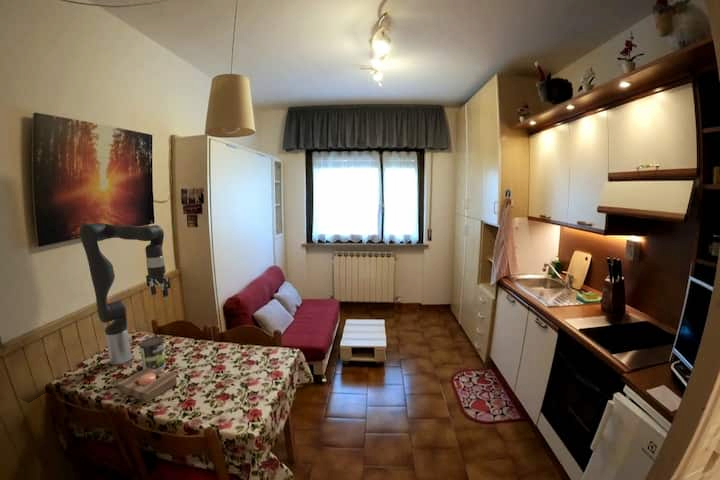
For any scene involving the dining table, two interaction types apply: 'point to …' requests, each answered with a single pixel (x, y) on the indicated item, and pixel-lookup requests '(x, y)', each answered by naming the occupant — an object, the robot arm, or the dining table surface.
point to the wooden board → (149, 391)
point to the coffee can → (152, 353)
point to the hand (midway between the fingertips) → (159, 295)
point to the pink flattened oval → (146, 379)
